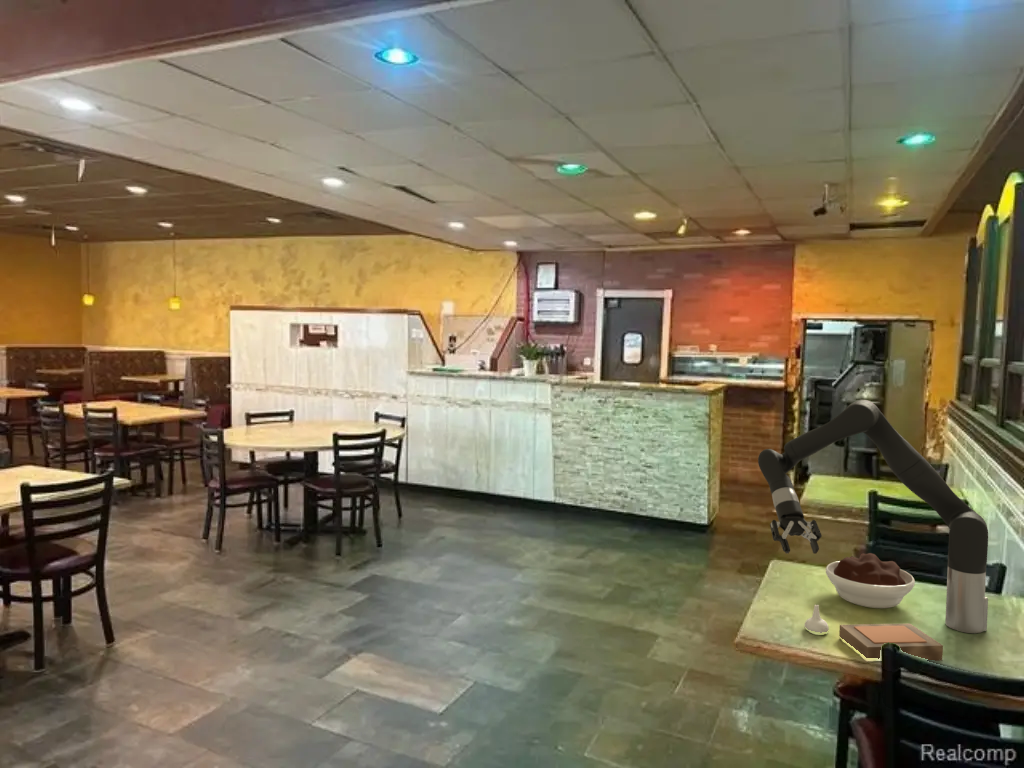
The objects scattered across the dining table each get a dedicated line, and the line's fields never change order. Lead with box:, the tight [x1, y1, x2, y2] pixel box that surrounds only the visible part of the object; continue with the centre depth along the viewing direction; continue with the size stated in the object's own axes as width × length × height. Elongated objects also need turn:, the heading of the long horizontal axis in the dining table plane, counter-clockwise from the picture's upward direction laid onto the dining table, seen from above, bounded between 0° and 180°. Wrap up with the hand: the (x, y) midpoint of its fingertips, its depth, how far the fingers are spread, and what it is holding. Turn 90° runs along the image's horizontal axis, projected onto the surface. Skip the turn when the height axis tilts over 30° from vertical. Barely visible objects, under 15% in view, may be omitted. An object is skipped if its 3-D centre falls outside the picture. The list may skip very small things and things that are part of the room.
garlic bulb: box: [804, 604, 829, 633], centre depth 198 cm, size 6×6×8 cm
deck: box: [838, 623, 944, 662], centre depth 186 cm, size 20×14×4 cm
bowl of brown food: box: [825, 552, 916, 609], centre depth 220 cm, size 25×25×15 cm
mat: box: [854, 626, 927, 643], centre depth 186 cm, size 14×10×1 cm
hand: (802, 552), depth 209 cm, fingers open, 8 cm apart
